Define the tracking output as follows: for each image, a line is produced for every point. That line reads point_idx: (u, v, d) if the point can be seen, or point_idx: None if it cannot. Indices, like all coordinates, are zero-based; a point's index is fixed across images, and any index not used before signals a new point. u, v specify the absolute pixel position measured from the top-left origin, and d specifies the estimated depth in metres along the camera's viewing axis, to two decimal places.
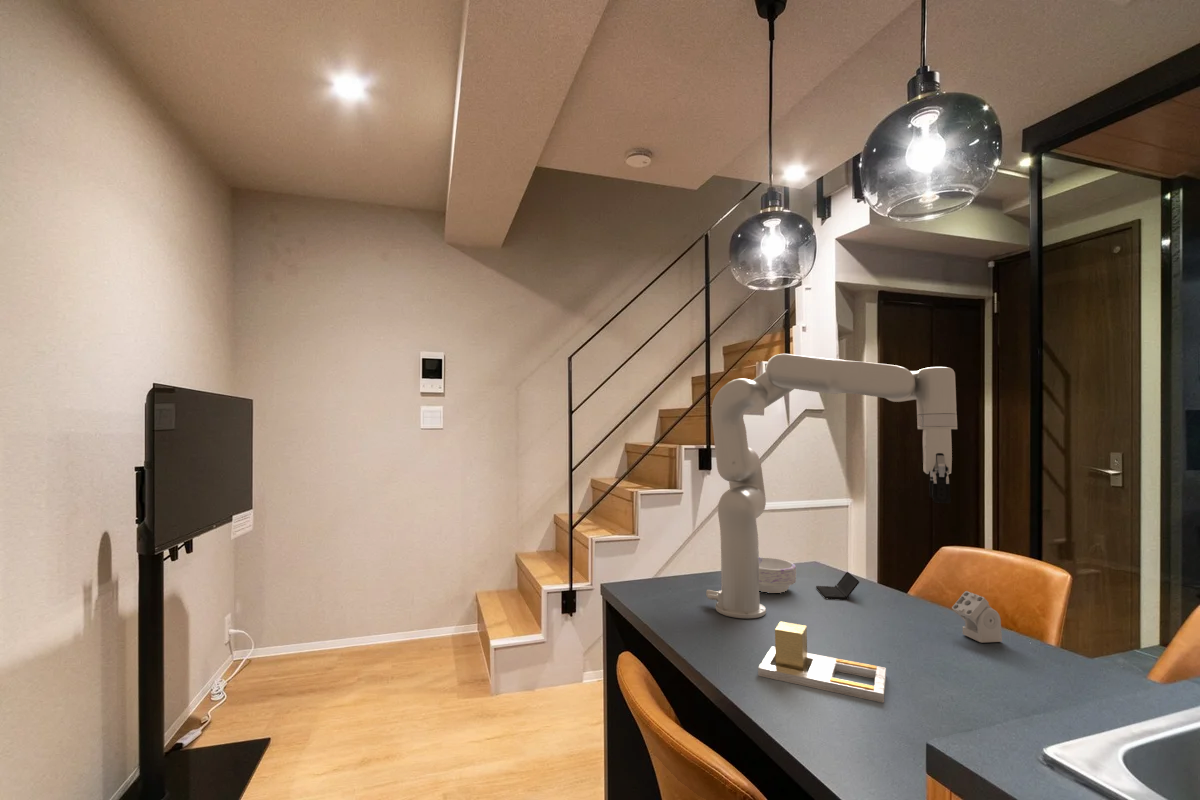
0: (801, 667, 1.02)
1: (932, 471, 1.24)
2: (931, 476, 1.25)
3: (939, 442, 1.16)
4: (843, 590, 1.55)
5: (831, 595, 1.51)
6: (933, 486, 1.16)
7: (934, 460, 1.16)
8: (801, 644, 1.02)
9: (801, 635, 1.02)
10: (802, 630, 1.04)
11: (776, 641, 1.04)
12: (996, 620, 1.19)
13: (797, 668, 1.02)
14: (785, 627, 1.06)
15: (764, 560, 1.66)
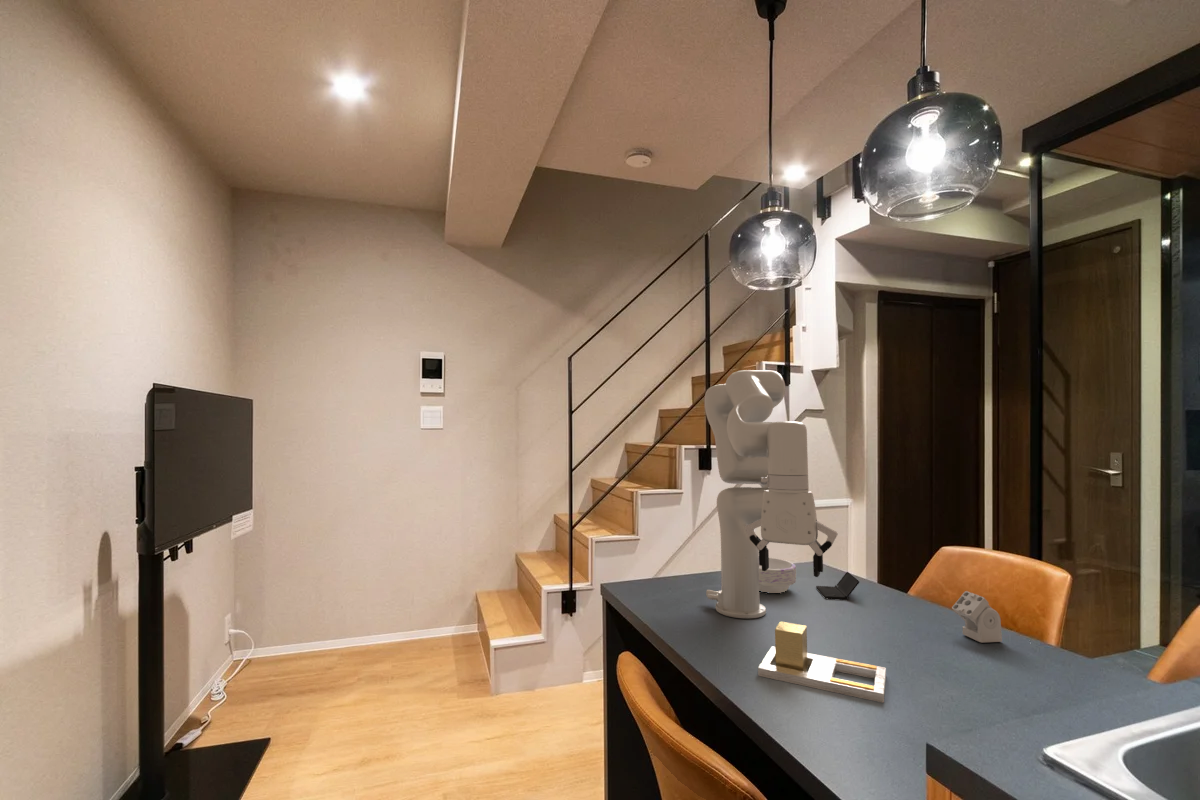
0: (801, 667, 1.02)
1: None
2: (764, 545, 1.08)
3: None
4: (843, 590, 1.55)
5: (831, 595, 1.51)
6: (817, 558, 1.02)
7: (816, 528, 1.03)
8: (801, 644, 1.02)
9: (801, 635, 1.02)
10: (802, 630, 1.04)
11: (776, 641, 1.04)
12: (996, 620, 1.19)
13: (797, 668, 1.02)
14: (785, 627, 1.06)
15: None
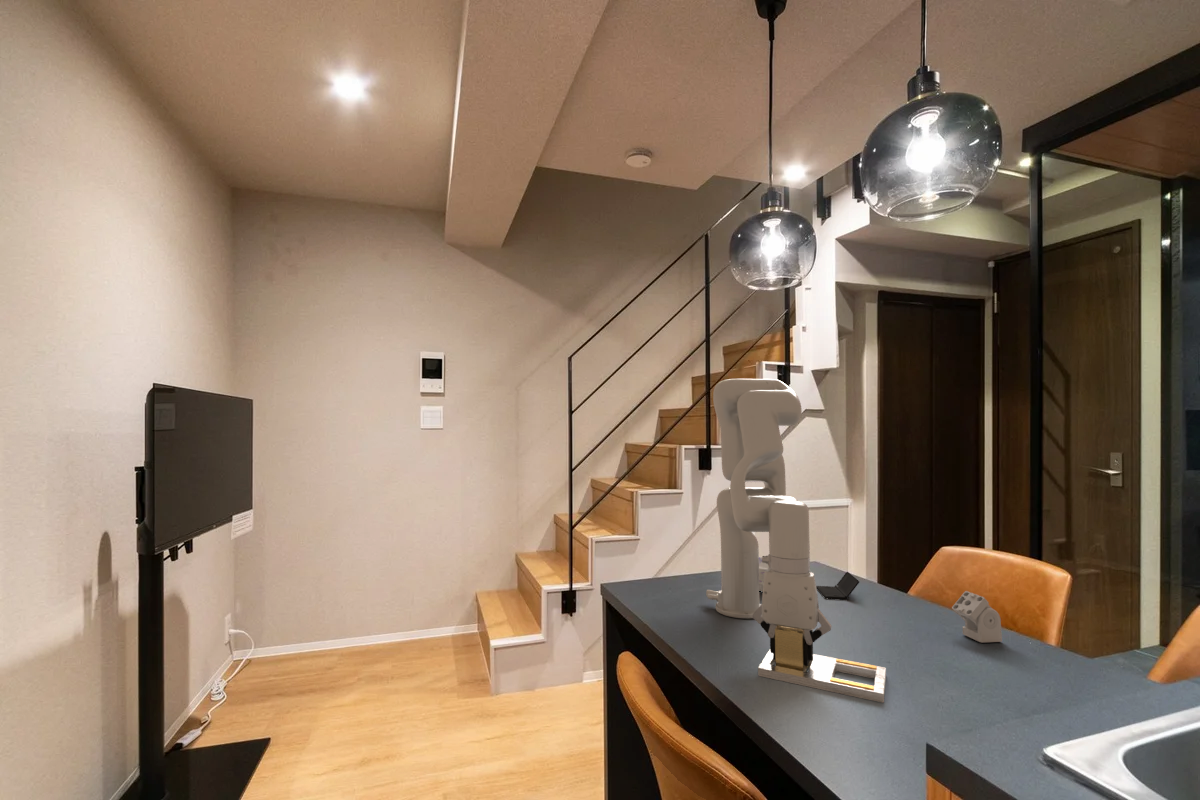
0: (801, 667, 1.02)
1: None
2: None
3: (816, 590, 1.04)
4: (843, 590, 1.55)
5: (831, 595, 1.51)
6: (807, 647, 1.03)
7: (817, 613, 1.02)
8: (801, 644, 1.02)
9: (801, 635, 1.02)
10: (802, 630, 1.04)
11: (776, 641, 1.04)
12: (996, 620, 1.19)
13: (797, 668, 1.02)
14: (785, 627, 1.06)
15: None
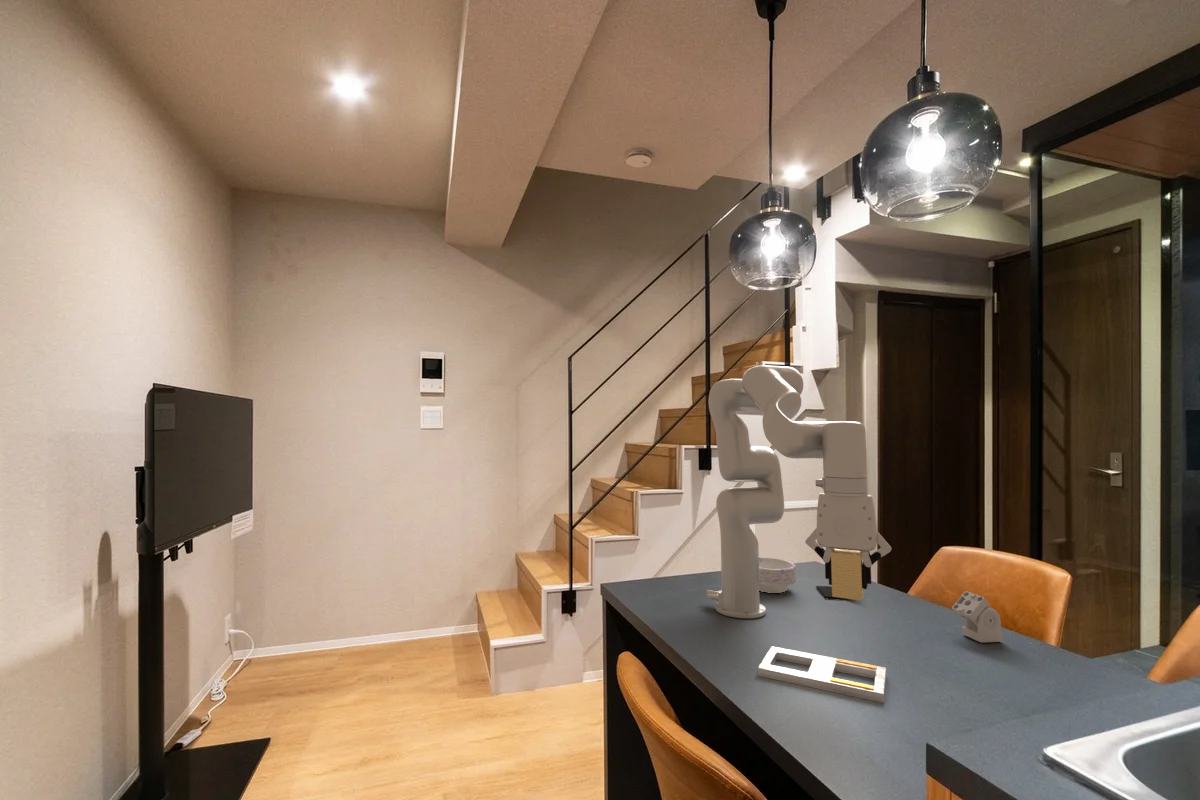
0: (860, 590, 0.98)
1: (833, 547, 1.02)
2: (830, 556, 1.02)
3: None
4: None
5: (831, 595, 1.51)
6: (865, 570, 0.99)
7: (876, 534, 0.98)
8: (860, 566, 0.98)
9: (859, 557, 0.98)
10: (860, 553, 1.00)
11: (832, 564, 1.00)
12: (996, 620, 1.19)
13: (855, 591, 0.98)
14: (841, 551, 1.02)
15: (764, 560, 1.66)
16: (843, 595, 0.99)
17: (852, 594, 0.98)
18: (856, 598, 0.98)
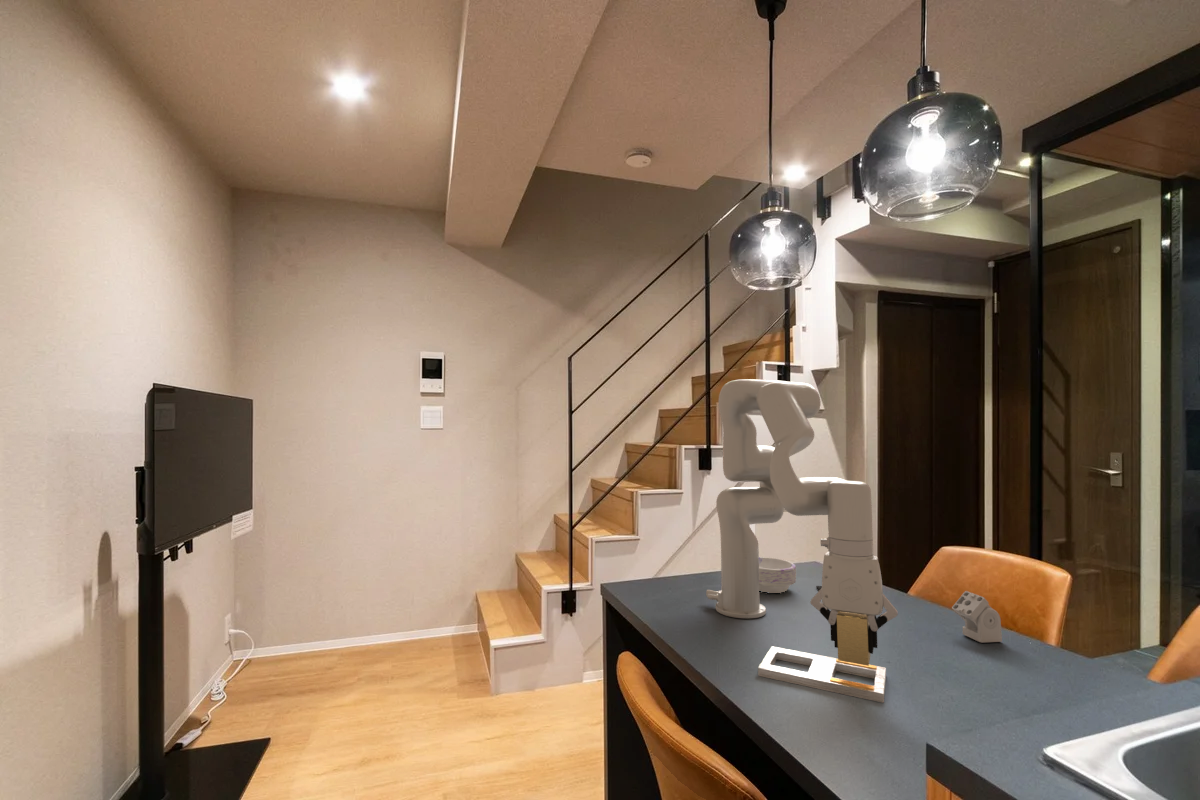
0: (866, 655, 0.97)
1: None
2: (836, 618, 1.01)
3: None
4: None
5: None
6: (871, 634, 0.97)
7: (883, 597, 0.97)
8: (866, 630, 0.97)
9: (866, 621, 0.97)
10: (866, 616, 0.99)
11: (838, 628, 0.99)
12: (996, 620, 1.19)
13: (862, 656, 0.97)
14: (847, 613, 1.00)
15: (764, 560, 1.66)
16: (849, 659, 0.98)
17: (858, 659, 0.97)
18: (862, 663, 0.97)
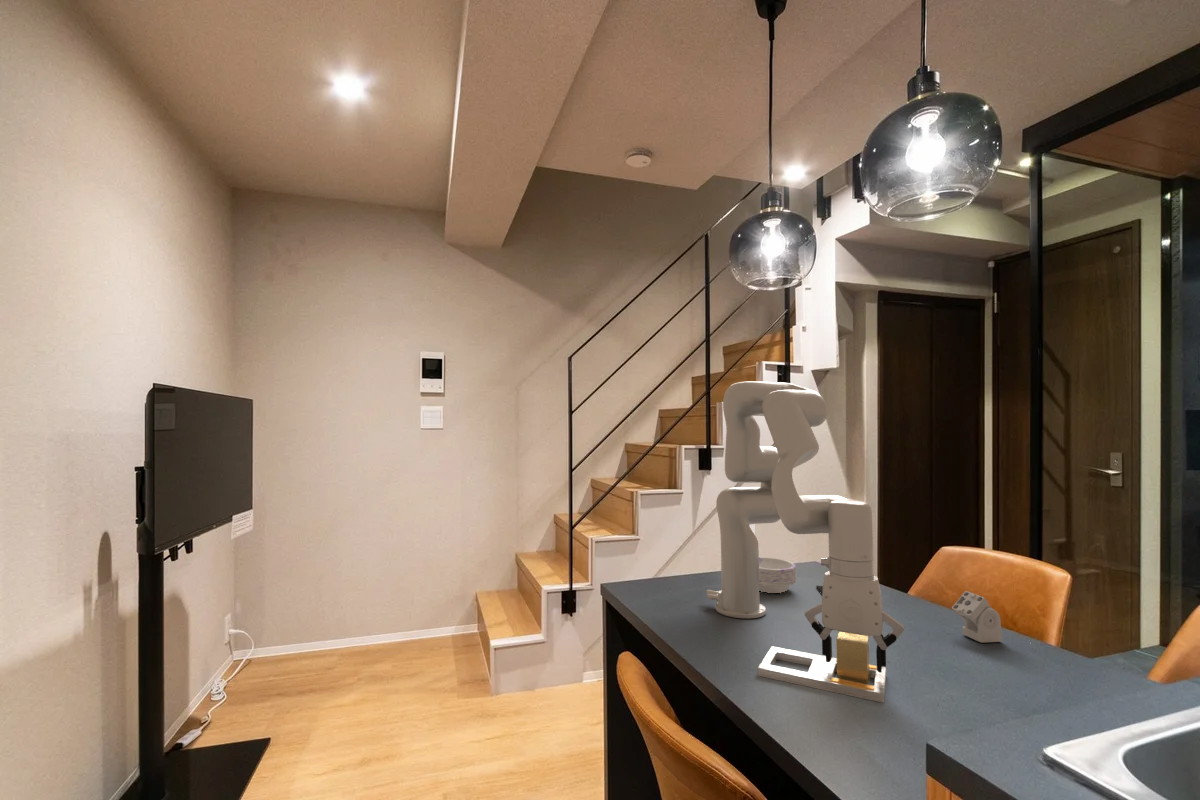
0: (866, 680, 0.97)
1: None
2: (828, 634, 1.01)
3: None
4: None
5: None
6: (880, 653, 0.97)
7: (883, 618, 0.97)
8: (866, 656, 0.97)
9: (865, 646, 0.97)
10: (865, 641, 0.99)
11: (838, 652, 0.99)
12: (996, 620, 1.19)
13: (861, 681, 0.97)
14: (847, 637, 1.00)
15: (764, 560, 1.66)
16: None
17: None
18: None
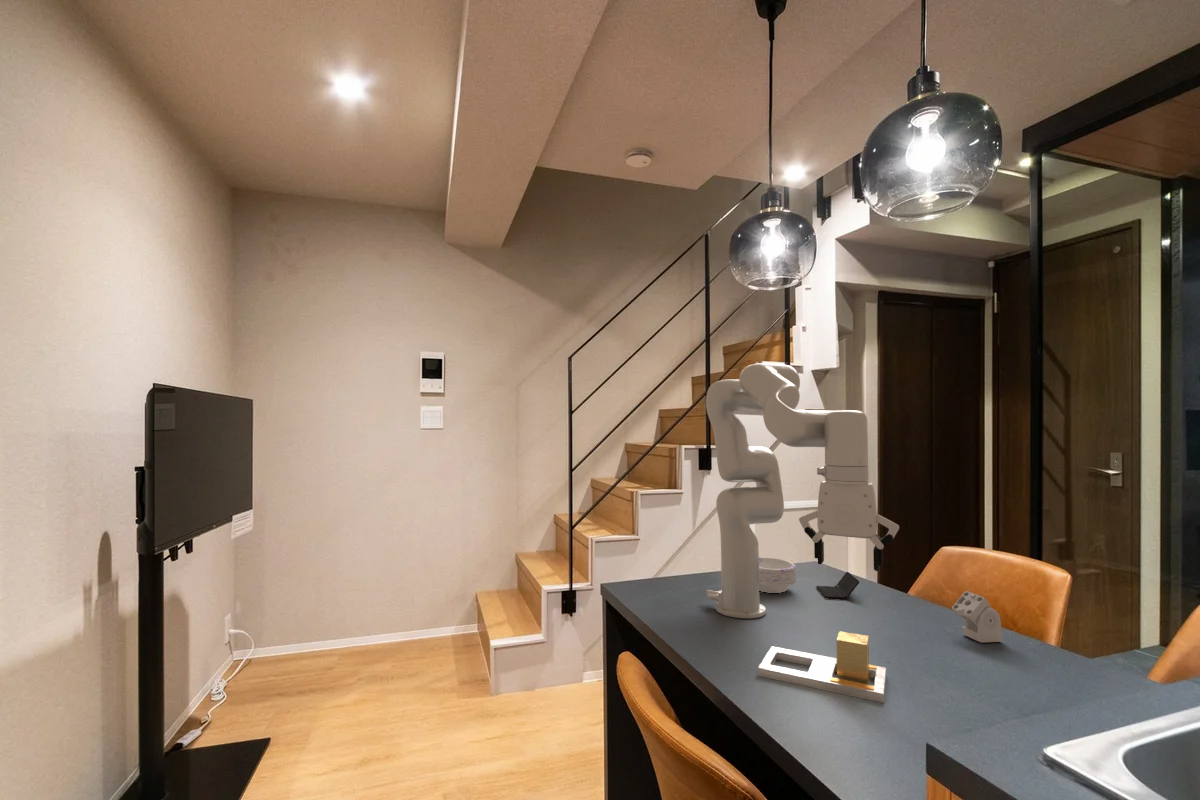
0: (866, 680, 0.97)
1: None
2: (820, 538, 1.04)
3: None
4: (843, 590, 1.54)
5: (831, 595, 1.51)
6: (877, 552, 0.99)
7: (877, 521, 1.00)
8: (866, 656, 0.97)
9: (865, 646, 0.97)
10: (865, 641, 0.99)
11: (838, 652, 0.99)
12: (996, 620, 1.19)
13: (861, 681, 0.97)
14: (847, 637, 1.00)
15: (764, 560, 1.66)
16: None
17: None
18: None
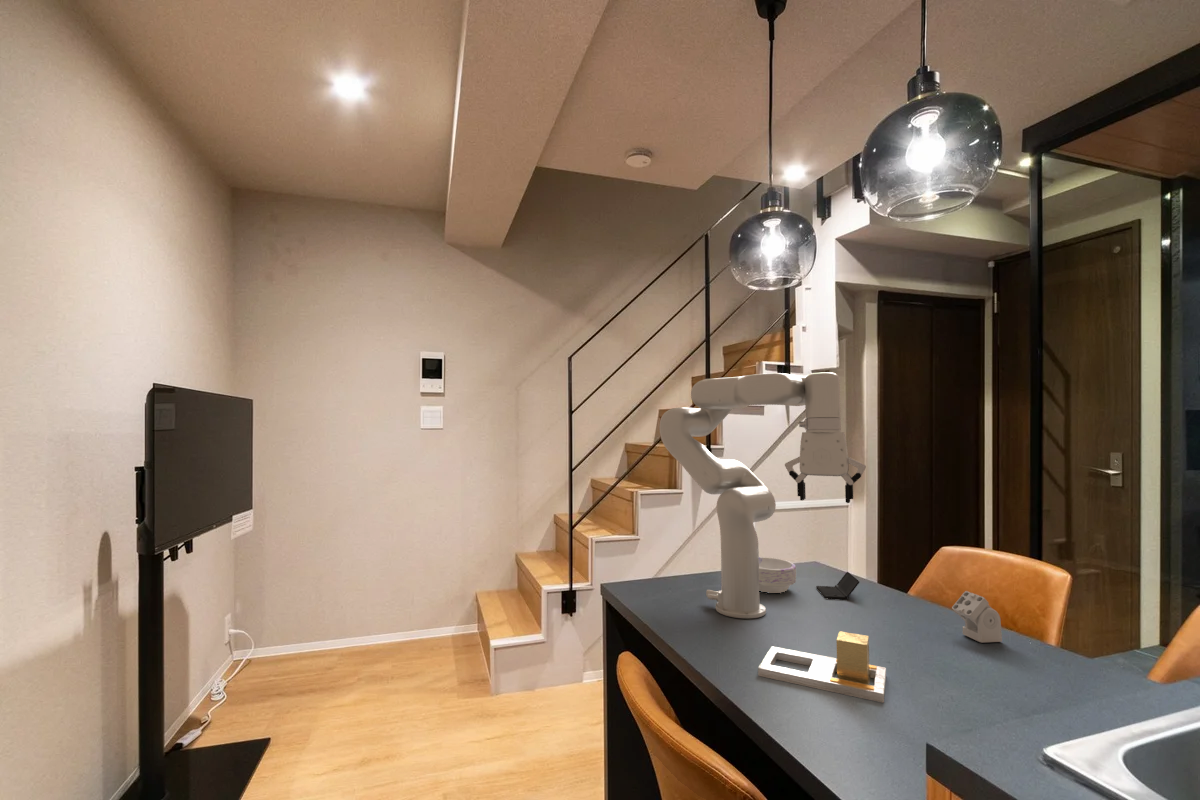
0: (866, 680, 0.97)
1: None
2: (802, 479, 1.26)
3: (846, 445, 1.23)
4: (843, 590, 1.54)
5: (831, 595, 1.51)
6: (848, 487, 1.21)
7: (848, 462, 1.21)
8: (866, 656, 0.97)
9: (865, 646, 0.97)
10: (865, 641, 0.99)
11: (838, 652, 0.99)
12: (996, 620, 1.19)
13: (861, 681, 0.97)
14: (847, 637, 1.00)
15: (764, 560, 1.66)
16: None
17: None
18: None
